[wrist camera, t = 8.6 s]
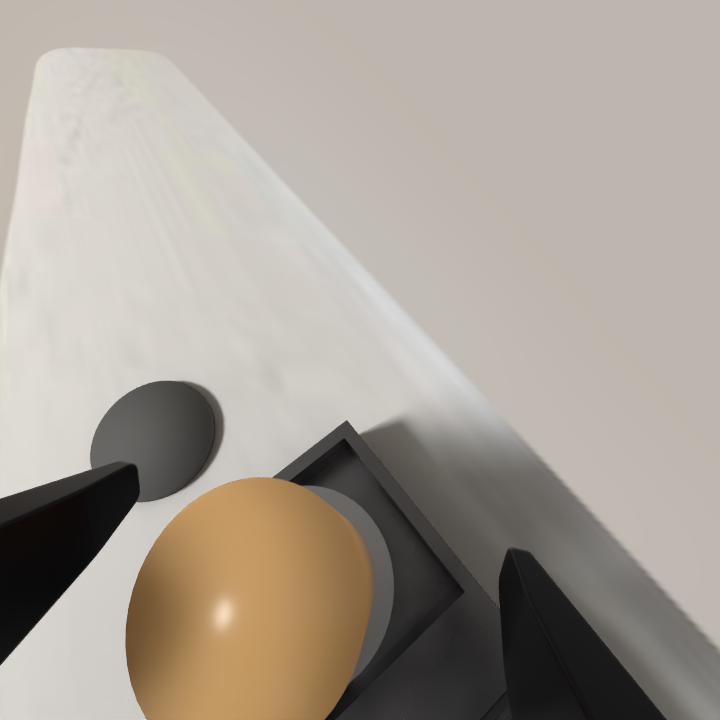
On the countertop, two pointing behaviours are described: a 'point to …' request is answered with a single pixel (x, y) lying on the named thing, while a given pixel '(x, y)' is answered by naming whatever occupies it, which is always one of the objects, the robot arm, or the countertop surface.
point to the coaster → (157, 436)
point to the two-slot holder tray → (413, 603)
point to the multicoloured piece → (258, 605)
